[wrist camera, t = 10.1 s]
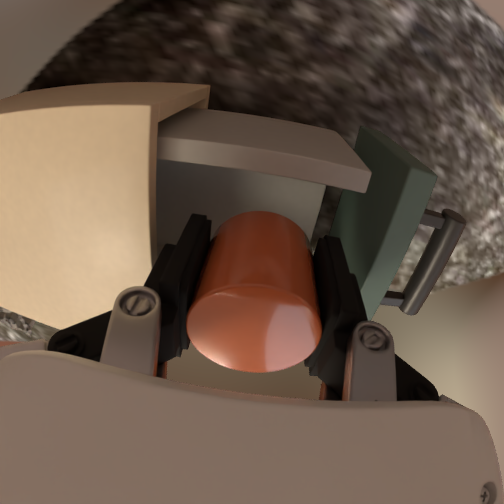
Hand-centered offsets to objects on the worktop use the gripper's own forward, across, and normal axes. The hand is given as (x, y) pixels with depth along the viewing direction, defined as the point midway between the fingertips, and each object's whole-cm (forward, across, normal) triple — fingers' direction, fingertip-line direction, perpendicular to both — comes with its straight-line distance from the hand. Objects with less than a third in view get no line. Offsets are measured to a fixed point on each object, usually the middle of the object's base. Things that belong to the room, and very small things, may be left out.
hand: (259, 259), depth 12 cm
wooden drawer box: (+7, +10, 0) cm, 13 cm away
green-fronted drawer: (+6, -1, 0) cm, 6 cm away
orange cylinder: (0, 0, 0) cm, 0 cm away
